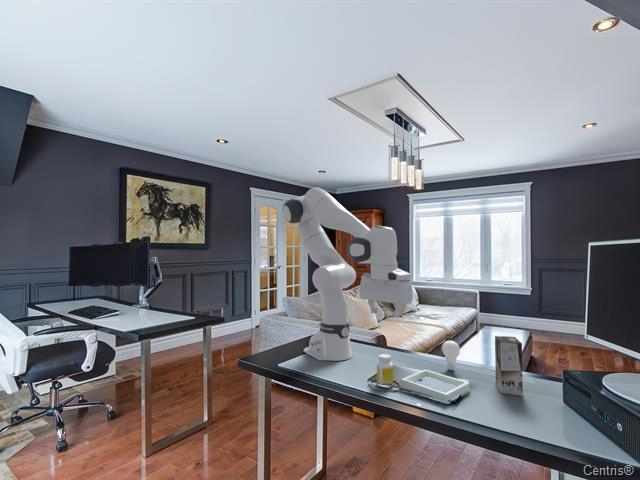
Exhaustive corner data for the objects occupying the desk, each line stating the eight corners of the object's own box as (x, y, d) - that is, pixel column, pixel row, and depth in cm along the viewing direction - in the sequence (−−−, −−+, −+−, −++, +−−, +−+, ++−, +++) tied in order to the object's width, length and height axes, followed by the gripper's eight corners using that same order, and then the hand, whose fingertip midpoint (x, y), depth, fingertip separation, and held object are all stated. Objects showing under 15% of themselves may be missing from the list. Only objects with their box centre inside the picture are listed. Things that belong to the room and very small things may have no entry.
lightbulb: (460, 368, 130) (460, 339, 130) (459, 374, 124) (459, 343, 124) (442, 366, 132) (442, 337, 133) (441, 371, 126) (440, 341, 127)
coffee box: (523, 396, 105) (522, 343, 106) (500, 393, 107) (499, 341, 108) (516, 385, 114) (515, 336, 115) (495, 382, 116) (494, 335, 116)
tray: (401, 388, 111) (401, 379, 112) (425, 377, 120) (425, 369, 121) (446, 405, 99) (446, 394, 99) (469, 392, 108) (469, 382, 108)
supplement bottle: (396, 385, 114) (396, 355, 114) (388, 390, 110) (387, 359, 110) (382, 381, 118) (382, 352, 118) (373, 385, 114) (373, 356, 114)
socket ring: (362, 384, 115) (362, 383, 115) (382, 376, 122) (382, 376, 122) (387, 395, 106) (387, 394, 106) (408, 386, 113) (408, 385, 113)
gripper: (355, 272, 121) (355, 312, 121) (403, 275, 105) (403, 320, 105) (367, 272, 125) (367, 310, 125) (415, 274, 109) (415, 318, 109)
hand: (384, 315), depth 115 cm, fingers open, 8 cm apart
